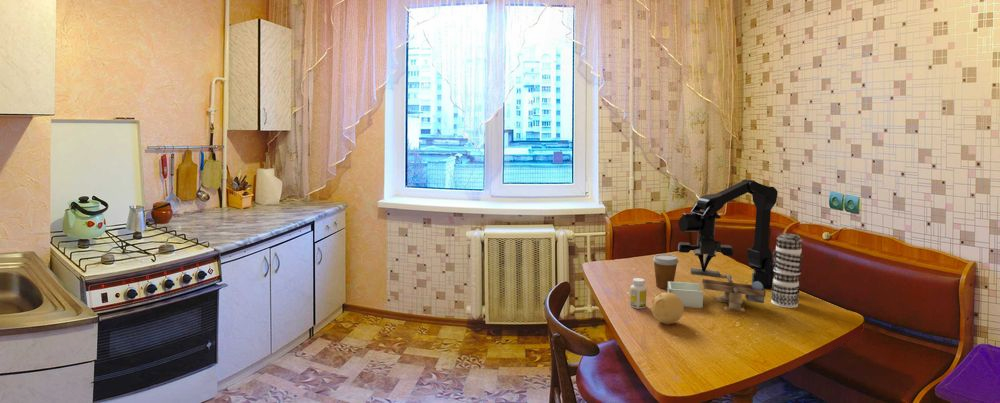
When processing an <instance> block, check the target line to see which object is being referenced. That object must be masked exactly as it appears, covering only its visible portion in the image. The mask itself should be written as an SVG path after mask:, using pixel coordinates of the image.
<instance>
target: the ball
mask: <svg viewBox="0 0 1000 403" xmlns="http://www.w3.org/2000/svg"><path fill="white" fill-rule="evenodd" d="M751 285H752V289H756V290H762V289H763V285H762V283H761V282H759V281H755V282H753V283H752V282H751Z"/></svg>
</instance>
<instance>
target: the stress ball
mask: <svg viewBox="0 0 1000 403" xmlns="http://www.w3.org/2000/svg"><path fill="white" fill-rule="evenodd" d="M684 308H685V307H683V303H682V301H681V300H680V298H679V297H678V296H676V295H675V294H673V293H668V292H665V291H664V292H660V293H657V294H656V295H655V297H654V298H653V299H652V300H651V307H650V310H651V313H652V315H653V316H654V318H655V319H657V321H658V322H661V323H662V324H663V325H671V324H675V323H676V322H678V321H679V320H680V319H681V318H682V317H683V314H684V310H685V309H684Z"/></svg>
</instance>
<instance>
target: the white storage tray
mask: <svg viewBox="0 0 1000 403" xmlns="http://www.w3.org/2000/svg"><path fill="white" fill-rule="evenodd" d="M666 291H667V292H668V293H673V294H675V295H676V296H678V297H679V298H680V300H681V301H682V303H683V307H684V308H693V309H695V308H696V309H703V304H704V291H703V290H701V283H699V282H698V283H697V282H683V281H674V282H671V281H668V289H666Z"/></svg>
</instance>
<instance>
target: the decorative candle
mask: <svg viewBox="0 0 1000 403" xmlns="http://www.w3.org/2000/svg"><path fill="white" fill-rule="evenodd" d="M803 241H804V239H802V238H801V236H800V235H798V234H796V233H790V232H784V233H781V234H779V235H778V236H777V237H776V245H775V248H773V252H772V256H774V257H772V259H773V265H774V266H775V267H774V268H773V271H774V272H775V274H773V283H772V286H773V287H772V289H771V290H772V291H771V292H770V299H771V300H770V301H771V302H770V303H771V304H773V305H774V306H776V307H779V308H790V309H791V308H792V309H793V308H795V309H796V308H797V307H798V306H799V302H800V301H799V299H800V296H799V294H800V289H801V288H800V287H801V286H800V281H799V279H800V275H801V273H802V270H801V269H802V268H803V266H802V265H801V264H802V263H803V258H804V256H803V255H802V250H803V248H802V245H803V244H802V243H803Z"/></svg>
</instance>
